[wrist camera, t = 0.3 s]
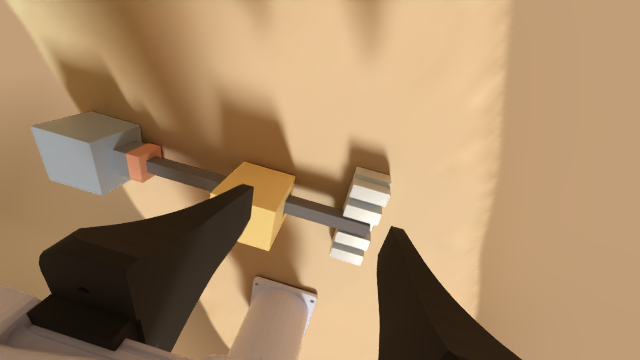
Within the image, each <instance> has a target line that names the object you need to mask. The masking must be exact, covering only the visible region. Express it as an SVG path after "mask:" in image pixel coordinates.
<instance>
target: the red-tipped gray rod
mask: <svg viewBox="0 0 640 360" xmlns="http://www.w3.org/2000/svg"><path fill="white" fill-rule="evenodd" d="M126 158H127V164H128V170H129V175H130V179H131V180H135V181H138V182H141V183H143V182H145V181H146V180H148V179H150V178H151V177H153V176H155V175H157V176H160V177H164V178H167V179H170V180H174V181H177V182H181V183H184V184H187V185H191V186H194V187H198V188H201V189H204V190H208V191H211V192H212V191H213V190H214V189H215V188H216V187H217V186H218V185H219V184H220V183H221V182H222V181H223V180H225V179H226V178H227V177H226V176H223V175H220V174H216V173H213V172H209V171H206V170H202V169H199V168H196V167H192V166H189V165H185V164H182V163H178V162H175V161H172V160H168V159H165V158H162V155H161V146H157V145H154V144H150V143H148V144H145V145H143V146H141V147H139V148H136V149H134V150H132V151H130V152H128V153H126ZM343 212H344V211H343V210H340V209H336V208H333V207H329V206H326V205H323V204H319V203H316V202H312V201H309V200H305V199H302V198H299V197H295V196H292V195H288V197H287V199H286V201H285V206H284V211H283V213H286V214H289V215H293V216H296V217H299V218H303V219H306V220H310V221H313V222H316V223H320V224H323V225H327V226H330V227H333V228H337V229H340V230H343V231H347V232H350V233H354V234H357V235H360V236H364V237H366V236H367V233H368V231H369V229H370V224H369V223H366V222H362V221H359V220H355V219H352V218H349V217H345V216H343Z"/></svg>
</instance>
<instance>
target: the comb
mask: <svg viewBox="0 0 640 360" xmlns="http://www.w3.org/2000/svg"><path fill="white" fill-rule="evenodd" d="M390 186H391V177H390V175H386V174H383V173H379V172H376V171H372V170H368V169H365V168H361V167H358V166H357V167H356V170H355V173H354V176H353V179H352V182H351V185H350V188H349V191H348V194H347V197H346V200H345V203H344V206H343V209H342V210H343V211H344V212H343V216H345V217H349V218H352V219H355V220H359V221H362V222H366V223H369V224H370V229H369V231H368V233H367V236H366V237H364V236H360V235H357V234H354V233H350V232H347V231H343V230H340V229H337V228H336V230H335V233H334V236H333V239H332V242H331V247H330V254H329V257H332V258H335V259H339V260H342V261H345V262H349V263H352V264H355V265H359V266H360V264H361V262H362V259H363V257H364V250H365V251H366V250H367V248H368V246H369V243H370V232H371V230H372V228H373V225H376V226H377V225H378V223H379V221H380V218H381V216H382V206H383V207H386V205H387V202H388V200H389V198H390V195H391V194H390Z"/></svg>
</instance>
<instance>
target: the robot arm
mask: <svg viewBox="0 0 640 360" xmlns="http://www.w3.org/2000/svg"><path fill="white" fill-rule="evenodd" d="M253 192H254V187H253V186H250V185H246V184H241V185H238V186H236V187H234V188H232V189H230V190H228V191H226V192H224V193H222V194H219V195H217V196H215V197H213V198H211V199H208V200H206V201H203V202H201V203H198V204H196V205H193V206H191V207H188V208H185V209H182V210H179V211H176V212H172V213H169V214H165V215H161V216H157V217H153V218H149V219H144V220H139V221H135V222H128V223H122V224H116V225H108V226H98V227H89V228H80V229H78V230H76V231H75V232H73V233H72V234H70V235H68V236H67V237H65V238H64V239H62V240H60V241H59V242H57V243H56V244H54V245H53V246H51V247H49V248H48V249H46V250H45V251H43V252H42V254H41V255H40V258H39V266H40V269H41V272H42V274H43V276H44V278H45V280H46V282H47V285H48V287H49V289H50V291H51V293H52V294H51V295H49V296H48V297H47V298H45V299H44V300H43V301H41V300H39V299H38V298H37V297H35V296H33V295H31V294H28V293H25V292H21V291H18V290H15V289H12V288H9V287H6V286H4V287H0V360H192V359H189V358H186V357H183V356H180V355H177V354H173V353H171V351H172V349H173V347H174V345H175V343H176V341H177V339H178V337H179V335H180V333H181V331H182V329H183V327H184V326H185V324H186V322H187V320H188V318H189V316H190V314H191V312H192V311H193V309H194V307H195V305H196V303H197V302H198V300H199V298H200V296H201V294H202V293H203V291H204V289H205V287H206V286H207V284H208V282H209V281H210V279H211V277H212V275H213V274H214V272H215V271H216V269H217V268H218V266H219V265H220V264H221V262H222V261H223V260H224V258H225V257H226V256H227V254H228V253H229V251H230V250H231V249H232V247H233V246H234V245H235V243H236V242H237V240H238V239H239V238H240V236H241V235H242V233H243V231H244V230H245V228H246V226H247V224H248V222H249V220H250V218H251V211H252V201H253ZM377 287H378V301H379V316H380V334H379V358H378V360H522V359H520V358H519V357H518V356H516V355H515V354H514V353H513V352H511V351H510V350H509V349H508V348H506V347H505V346H504V345H502V344H501V343H500V342H499V341H498V340H496V339H495V338H494V337H493V336H492V335H491V334H490V333H488V332H487V331H486V330H485V329H484V328H483V327H482V326H481V325H480V324H479V323H477V322H476V321H475V320H474V319H473V318H472V317H471V316H470V315H469V314H468V313H467V312H466V311H465V310H464V309H463V308H462V307H461V306H460V305H459V304H458V303H457V302H456V301H455V300H454V298H453V297H452V296H451V295H450V294H449V293H448V292H447V290H446V289H445V288H444V287H443V286H442V285H441V283H440V282H439V281H438V280H437V278H436V277H435V276H434V274H433V273H432V272H431V270H430V269H429V268H428V266H427V265H426V263H425V262H424V261H423V259H422V258H421V256H420V255H419V253H418V251H417V250H416V248H415V247H414V245H413V244H412V242H411V240H410V239H409V237H408V236H407V234H406V233H405V231H404V230H403V229H400V228H397V227H393V226H391V228H390V230H389V232H388V234H387V237H386V239H385V241H384V243H383V245H382V247H381V250H380V252H379V254H378V261H377ZM316 301H317V295H316V294H314V293H311V292H307V291H304V290H301V289H298V288H294V287H291V286H288V285H285V284H281V283H278V282H275V281H272V280H268V279H265V278H262V277H258V276H257V277H255V278H254V280H253V287H252V295H251V302H250V308H249V310H248V312H247V314H246V316H245V319H244V321H243V323H242V325H241V327H240V329H239V332H238V334H237V336H236V338H235V340H234V343H233V345H232V347H231V349H230V351H229V353H228V355H222V354H215V355H210V356H207V357H204V358H202V360H298V357H299V353H300V348H301V344H302V340H303V338H304V335H305V332H306V330H307V327H308V324H309V321H310V318H311V315H312V312H313V310H314V307H315V304H316Z"/></svg>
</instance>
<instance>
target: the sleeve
mask: <svg viewBox="0 0 640 360" xmlns="http://www.w3.org/2000/svg"><path fill="white" fill-rule="evenodd" d="M295 177H296V176H293V175H289V174H286V173H282V172H279V171H275V170H272V169H268V168H265V167H262V166H258V165H255V164H251V163H248V162H243V163H242V164H241V165H240V166H238V167H237V168H236V169H235V170H234V171H233V172H232V173H231V174H230V175H229V176H228V177H227V178H226V179H225V180H223V181H222V182H221V183H220V184H219V185H218V186H217V187H216V188H215V189H214V190H213V191H212V192H211V193H210V199H211V198H213V197H215V196H217V195H219V194H222V193H224V192H226V191H228V190H230V189H232V188H234V187H236V186H238V185H241V184H246V185H250V186H253V187H254V192H253V201H252V211H251V218H250V220H249V222H248V224H247V226H246V228H245V230H244V231H243V233H242V235H241V236H240V238H239V239H238V240H237V242H240V243H243V244H247V245H250V246H253V247H257V248H260V249H263V250H266V251H269V250H270V248H271V246H272V244H273V242H274V240H275V238H276V236H277V234H278V232H279V229H280V227H281V225H282V223H283V221H284V219H285V217H286V215H287V214H286V213H283V211H284V206H285V201H286V199H287V197H288V195H292V192H293V187H294V182H295Z"/></svg>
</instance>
